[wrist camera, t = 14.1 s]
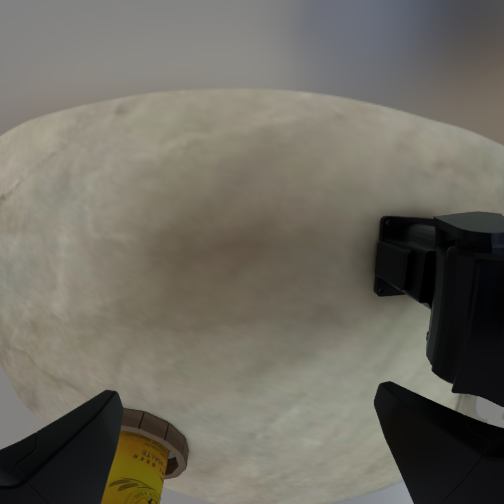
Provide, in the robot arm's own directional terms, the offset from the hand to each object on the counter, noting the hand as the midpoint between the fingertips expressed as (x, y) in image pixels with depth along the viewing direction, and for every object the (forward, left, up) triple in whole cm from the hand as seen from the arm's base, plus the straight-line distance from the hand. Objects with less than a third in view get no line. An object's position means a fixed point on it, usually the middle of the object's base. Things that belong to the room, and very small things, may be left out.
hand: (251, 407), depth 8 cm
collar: (+11, +19, -13) cm, 25 cm away
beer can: (+11, +18, -13) cm, 25 cm away
